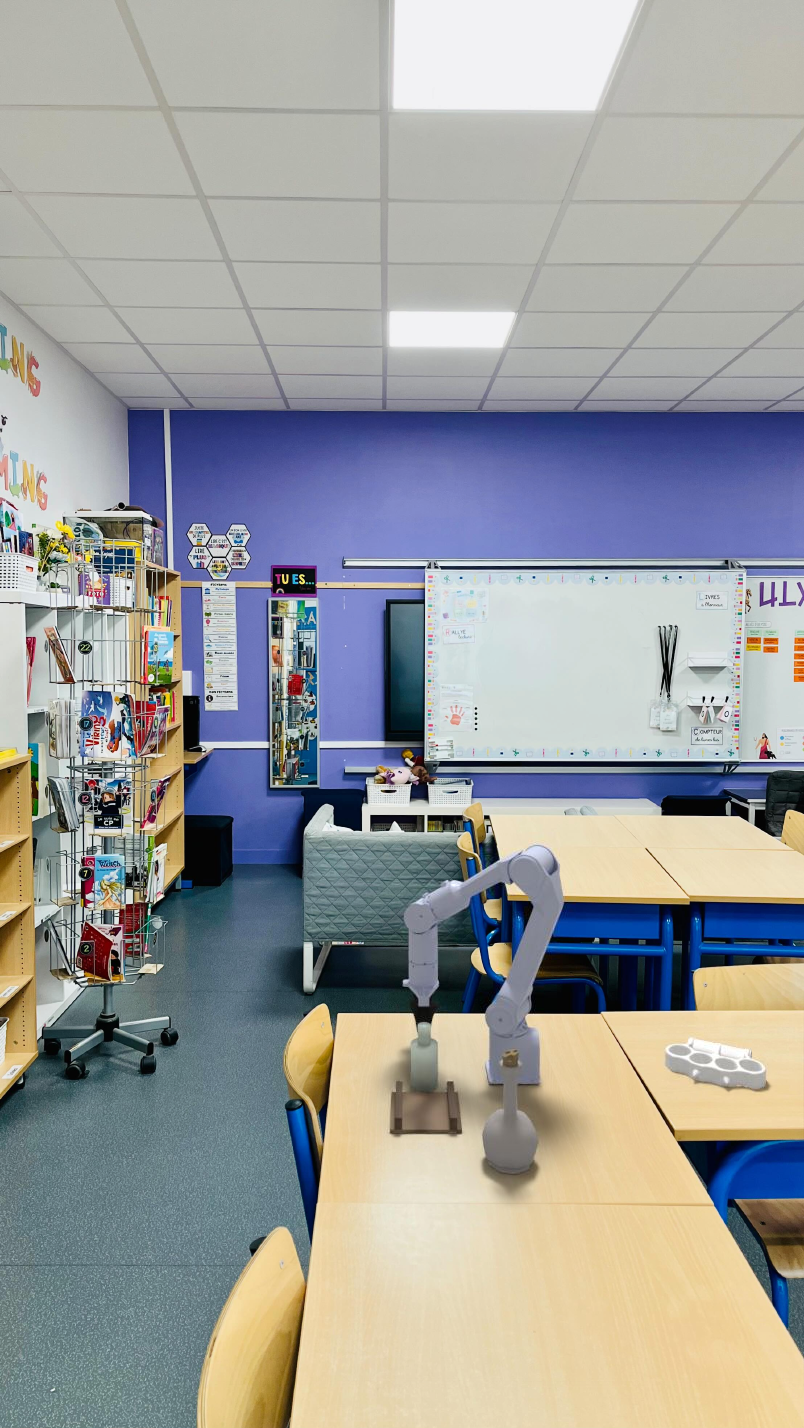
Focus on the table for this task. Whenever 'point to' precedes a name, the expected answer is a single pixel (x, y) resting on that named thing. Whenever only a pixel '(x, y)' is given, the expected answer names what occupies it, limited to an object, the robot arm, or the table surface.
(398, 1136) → the table surface
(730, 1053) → the knuckle duster
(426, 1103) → the walnut cradle
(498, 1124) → the potion bottle
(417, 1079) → the sage bottle
